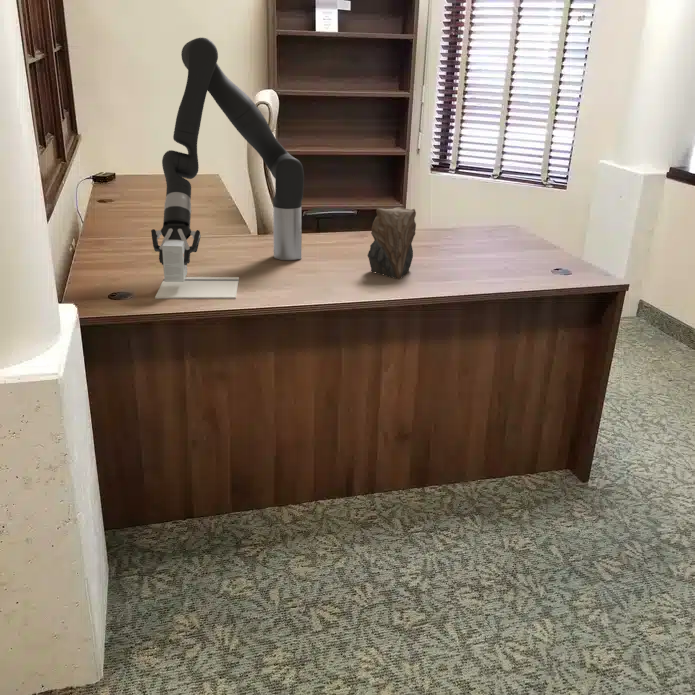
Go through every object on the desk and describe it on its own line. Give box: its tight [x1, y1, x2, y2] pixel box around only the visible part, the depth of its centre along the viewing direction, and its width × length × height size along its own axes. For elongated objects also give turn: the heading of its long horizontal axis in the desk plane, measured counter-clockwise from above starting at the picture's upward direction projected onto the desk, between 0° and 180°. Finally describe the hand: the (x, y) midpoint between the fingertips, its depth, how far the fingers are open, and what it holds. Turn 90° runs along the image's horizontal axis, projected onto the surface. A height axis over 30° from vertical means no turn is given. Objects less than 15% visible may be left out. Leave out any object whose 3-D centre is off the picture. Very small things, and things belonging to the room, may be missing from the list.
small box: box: [162, 240, 188, 282], centre depth 194 cm, size 8×6×10 cm
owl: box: [367, 206, 417, 280], centre depth 217 cm, size 13×13×20 cm
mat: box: [154, 276, 240, 300], centre depth 198 cm, size 22×18×1 cm
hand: (174, 263), depth 192 cm, fingers closed on small box, 5 cm apart
